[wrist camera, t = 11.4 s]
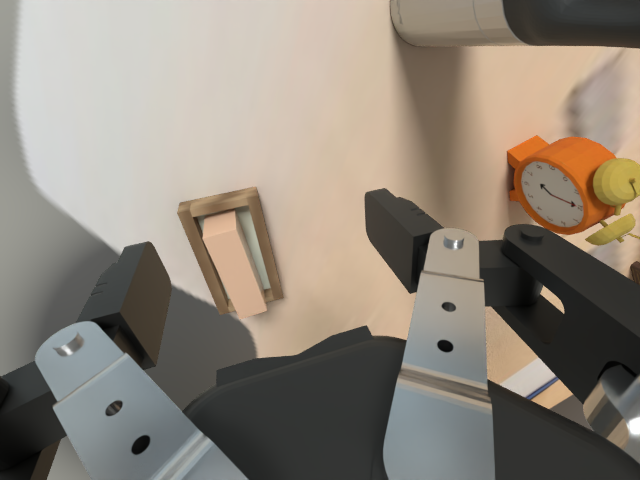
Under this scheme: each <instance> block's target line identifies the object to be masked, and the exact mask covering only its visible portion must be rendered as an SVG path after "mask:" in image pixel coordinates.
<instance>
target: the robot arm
mask: <svg viewBox="0 0 640 480" xmlns="http://www.w3.org/2000/svg"><path fill="white" fill-rule="evenodd" d="M390 7H391V16H392V20H393V24H394V26H395V29H396V31H397V32H398V34H399V35H400V36H401V38H402V39H403V40H405V41H406V42H407V43H409V44H411V45H414V46H607V47H627V48H640V0H391V1H390ZM365 221H366V232H367V235H368V238H369V240H370V242H371V243H372V245H373V246H374V247H375V249H376V250H377V251H378V252H379V254H380V255H381V256H382V258H383V259H384V260H385V262H386V263H387V264H388V266H389V267H390V268H391V269H392V271H393V272H394V273H395V275H396V276H397V277H398V279H399V280H400V281H401V283H402V284H403V285H404V287H405V288H406V289H407V290H408V292H409V293H410V294H411V293H414V292H417V294H416V299H415V304H414V309H413V314H412V318H411V323H410V328H409V333H408V338H407V340H404V339H400V338H396V337H389V336H372V335H371V333H370V331H369V329H368V327H367V325H366V326H362V327H359V328H356V329H352V330H349V331H346V332H342V333H339V334H336V335H332V336H330V337H329V338H327V339H325V340H323V341H321V342H320V343H318V344H316V345H314V346H313V347H311V348H309V349H307V350H305V351H304V352H302V353H300V354H298V355H294V356H282V357H269V358H256V359H252V360H249V361H246V362H243V363H239V364H236V365H232V366H229V367H226V368H222V369H219V370H217V379H216V381H217V382H216V384H215V385H213V386H212V387H210V388H209V389H207V390H206V391H204V392H203V393H201V394H200V395H199V396H198V397H196V399H194V400H193V401H192V402H191V403H190V404H189V405H188V406H187V407H186V408H185V409H184V410H183V411H181V410H180V409H179V408H178V407H177V406H176V405H175V404H174V403H173V402H172V401H171V400H170V399H169V397H168V396H167V395H166V394H165V393H164V392H163V391H162V390H161V389H160V388H159V387H158V386H157V385H156V384H155V383H154V381H152V379H151V378H150V377H149V376H148V375H147V374H146V373H145V372H144V371H143V370H144V369H148V368H151V367H155V366H156V364H157V359H158V354H159V350H160V345H161V340H162V335H163V329H164V325H165V321H166V316H167V311H168V306H169V301H170V296H171V290H172V288H171V281H170V278H169V275H168V273H167V271H166V269H165V267H164V265H163V263H162V261H161V259H160V257H159V255H158V253H157V251H156V249H155V247H154V246H153V244H152V243H151V242H144V243H139V244H135V245H131V246H126V247H125V248H124V250H123V252H122V254H121V256H120V258H119V260H118V262H117V263H115V264H112V265H111V266H110V267H109V268H108V269H107V270H106V271H105V272H104V273H103V274H102V275H101V276H100V278H99V280H98V282H97V284H96V287H95V288H94V289H93V291H92V293H91V296H90V297H89V299H88V301H87V303H86V304H85V306H84V308H83V310H82V312H81V314H80V316H79V318H78V320H77V321H76V323H75V324H73V325H70V326H68V327H66V328H64V329H62V330H60V331H58V332H57V333H55V334H54V335H53V336H51V337H50V338H49V339H48V340H47V341H45V342H44V344H43V345H42V346H41V347H40V348H39V350H38V351H37V353H36V356H35V361H33V362H31V363H29V364H27V365H25V366H23V367H21V368H18V369H16V370H14V371H12V372H10V373H8V374H6V375H3V376H0V480H47V477H48V474H49V471H50V469H51V466H52V463H53V460H54V457H55V454H56V451H57V449H58V446H59V443H60V440H61V439H62V438H64V437H65V436H68V437H69V439H70V441H71V443H72V445H73V447H74V448H75V450H76V452H77V454H78V456H79V458H80V460H81V462H82V463H83V465H84V467H85V469H86V471H87V473H88V474H89V476H90V478H91V480H640V285H638V284H637V283H635V282H634V281H632V280H630V279H629V278H627V277H625V276H624V275H622V274H620V273H619V272H617V271H616V270H614V269H612V268H611V267H609V266H607V265H606V264H604V263H602V262H601V261H599V260H598V259H596V258H594V257H593V256H591V255H589V254H588V253H586V252H584V251H583V250H581V249H580V248H578V247H576V246H575V245H573V244H571V243H570V242H568V241H566V240H565V239H563V238H562V237H560V236H558V235H557V234H555V233H553V232H552V231H550V230H548V229H545V228H543V227H540V226H535V225H528V224H518V225H513V226H510V227H508V228H507V229H506V230H505V233H504V237H503V240H492V241H478V239H477V237H476V236H475V235H473V234H472V233H470V232H468V231H465V230H462V229H457V228H444V227H442V226H441V225H440V224H439V223H437V222H436V221H435V220H434V219H432V218H431V217H430V216H429V215H428V214H425V212H424V211H423V210H421V209H419V207H418V206H416V205H415V204H414V203H413V202H412V201H409V200H406V199H404V198H401V197H398V198H396V197H395V196H394V195H393V194H391V193H390V192H389V191H388V190H387V189H385V188H383V189H378V190H374V191H370V192H366V194H365ZM543 285H544V286H545V287H546V288H547V289H549V290H550V291H551V292H552V293H554V294H555V295H556V296H557V297H558V298H559V299H560V300H561V302H562V304H563V306H564V311H565V313H564V314H563V313H562V312H561V311H560V310H558V309H557V308H556V307H555V306H554V305H553V304H551V303H550V302H549V301H548V300H547V299H545V298H544V297H543V296H542V295H541V294H540V293H541V290H542V287H543ZM485 306H491V307H492V308H493V309H494V310H495V311H496V312H497V313H498V314H499V315H500V316H501V317H502V319H503V320H504V321H505V322H506V323H507V324H508V325H509V326H510V327H511V328H512V329H513V330H514V331H515V332H516V333H517V335H518V336H519V337H520V338H521V339H522V340H523V341H524V342H525V343H526V344H527V345H528V346H529V347H530V348H531V349H532V350H533V352H534V353H535V354H536V355H537V356H538V357H539V358H540V359H541V360H542V361H543V362H544V363H545V364H546V365H547V366H548V368H549V369H550V370H551V371H552V372H553V373H554V374H555V375H556V376H557V377H558V378H559V379H560V380H561V381H562V382H563V384H564V385H565V386H566V387H567V388H568V389H569V390H570V391H571V392H572V393H573V394H574V395H575V396H576V397H577V398H578V399H579V401H581V403H582V404H583V405H584V408H583V410H584V415H585V417H586V420H587V422H588V423H589V425H590V426H591V428H592V429H593V431H592V430H590V429H588V428H585V427H584V426H582V425H579V424H578V423H576V422H574V421H571V420H569V419H567V418H565V417H563V416H561V415H559V414H557V413H555V412H553V411H551V410H549V409H547V408H545V407H543V406H541V405H539V404H537V403H535V402H533V401H531V400H529V399H527V398H525V397H523V396H521V395H519V394H517V393H515V392H512V391H510V390H508V389H506V388H504V387H502V386H500V385H498V384H496V383H494V382H492V381H490V380H488V379H487V357H486V327H485Z"/></svg>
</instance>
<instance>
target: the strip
mask: <svg viewBox="0 0 640 480" xmlns="http://www.w3.org/2000/svg"><path fill="white" fill-rule="evenodd" d="M203 241H204V243H205V245H206V247H207V250H208V252H209V254H210V256H211V258H212V260H213V262H214V265H215V267H216V269H217V271H218V273H219V275H220V278H221V280H222V282H223V284H224V286H225V288H226V290H227V293H228V295H229V297H230V299H231V301H232V303H233V306H234V308H235V310H236V312H237V314H238V316H239V319H243V318H246V317H249V316H252V315H255V314H259V313H262V312H265V311H267V305H266V299H265V294H264V288H263V283H262V281H261V278H260V275H259V272H258V270H257V267H256V264H255V262H254V259H253V256H252V253H251V251H250V248H249V245H248V242H247V240H246V237H245V234H244V232H243V229H242V226H241V223H240V221H239V218H238V215H237V213H236V210H235V208H232V209H228V210H224V211H220V212H217V213H213V214H209V215H206V216H205V219H204V229H203Z"/></svg>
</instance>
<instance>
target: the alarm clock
mask: <svg viewBox="0 0 640 480" xmlns="http://www.w3.org/2000/svg"><path fill="white" fill-rule="evenodd" d="M507 154H508V163H509V164H510V165H511V166H512V167H513V168H514V169H515V172H514V181H513V182H514V187H515V188H514V189H513V190H511V191H509V192H510V201H519V202H520V203H521V205H522V206H523V208H524V209H525V211H526V212H527V213H528V214H529V215H530V216H531V217H532V218H533V219H534V220H535V221H536V222H537V223H538V224H540V225H541V226H543V227H544V228H546V229H548V230H550V231H553V232H555V233H558V234H566V235H571V234H575V233H580V232H582V231H584V230H586V229H588V228H590V227H592V226H594V225H596V224H597V223H601V224H602V225H603V226H604V228H602V229H601V230H599V231H597V232H596V233H594V234H592V235H591V236H589V237H588V238H586V239H585V240H586V241H588V242H589V243H591V244H594V245H598V246H599V245H604V244H607V243H609V242H611V241H613V240H615V239H617V240H618V241H619V242H620V243H621V242H623V241H624V240H623V239H622V237H620V236H622V235H624V234H626V233H628V232H629V231H631V230H632V229H633V228H634V226H635V219H634V217H633V215H632V214H628V215H626V216H624V217H622V218H620V219H619V220H617V221H615V222H613V223H611V224H609V225H608V224H607V223H606V222H604V221H603V220H605V219H607V218H609V217H611V216H613V215H616V216H618V215H620V212H621V209H622V208H623V207H624V206H625V204H626V203H627V202H630V201H632V200H634V199H635V198H636V197H638V196H639V195H640V165H639V164H638V163H636V162H635V161H633V160H630V159H623V158H616V157H615V155H614V154H613V153H611V152H610V151H609V150H607V149H606V148H605V147H603V146H602V145H601V144H599V143H596V142H594V141H592V140H589V139H587V138H580V137H568V138H564V139H559V140H558V141H556V142H554V143H552V144H550V145H549V144H548V143H546V142H545V141H544V140H542V139H541V138H540V137H539V136H537V135H536V136H535V137H533V138H531V139H529V140H527V141H525V142H523V143H521V144H520V145H518V146H516V147H514V148H512V149H510V150H508V151H507ZM627 235H630V236H633V237H635V238H638V239H640V237H638V236H636V235H633V234H631V233H629V234H627ZM625 236H626V235H625ZM623 237H624V236H623Z"/></svg>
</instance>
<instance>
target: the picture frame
mask: <svg viewBox="0 0 640 480" xmlns="http://www.w3.org/2000/svg"><path fill="white" fill-rule="evenodd" d="M232 208H235V210H236V213H237V215H238V218H239V221H240V223H241V226H242V229H243V232H244V234H245V237H246V240H247V242H248V245H249V248H250V251H251V253H252V256H253V259H254V262H255V264H256V267H257V270H258V272H259V275H260V278H261V281H262V283H263V288H264V294H265V299H266V302H269V301H273V300H277V299H280V298H283V294H282V290H281V286H280V282H279V278H278V274H277V270H276V266H275V262H274V258H273V253H272V249H271V245H270V241H269V237H268V233H267V229H266V225H265V221H264V217H263V213H262V209H261V205H260V201H259V197H258V193H257V189H256V187H252V188H247V189H243V190H238V191H233V192H229V193H224V194H219V195H214V196H210V197H205V198H200V199H196V200H191V201H186V202H181V203H180V204H179V208H178V212H177V214H178V216H179V218H180V221H181V223H182V225H183V228H184V230H185V233H186V235H187V237H188V240H189V242H190V245H191V247H192V249H193V252H194V254H195V256H196V259H197V261H198V264H199V266H200V268H201V271H202V273H203V275H204V278H205V280H206V283H207V285H208V287H209V290H210V292H211V294H212V297H213V299H214V302H215V304H216V306H217V309H218V311H219V313H220V315H222V314H225V313H229V312H233V311H236V310H235V308H234V306H233V303H232V301H231V299H230V297H229V295H228V293H227V290H226V288H225V286H224V284H223V282H222V280H221V278H220V275H219V273H218V271H217V269H216V267H215V265H214V262H213V260H212V258H211V256H210V254H209V252H208V250H207V247H206V245H205V243H204V241H203V229H204V219H205V216H206V215H209V214H213V213H217V212H220V211H224V210H228V209H232Z"/></svg>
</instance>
